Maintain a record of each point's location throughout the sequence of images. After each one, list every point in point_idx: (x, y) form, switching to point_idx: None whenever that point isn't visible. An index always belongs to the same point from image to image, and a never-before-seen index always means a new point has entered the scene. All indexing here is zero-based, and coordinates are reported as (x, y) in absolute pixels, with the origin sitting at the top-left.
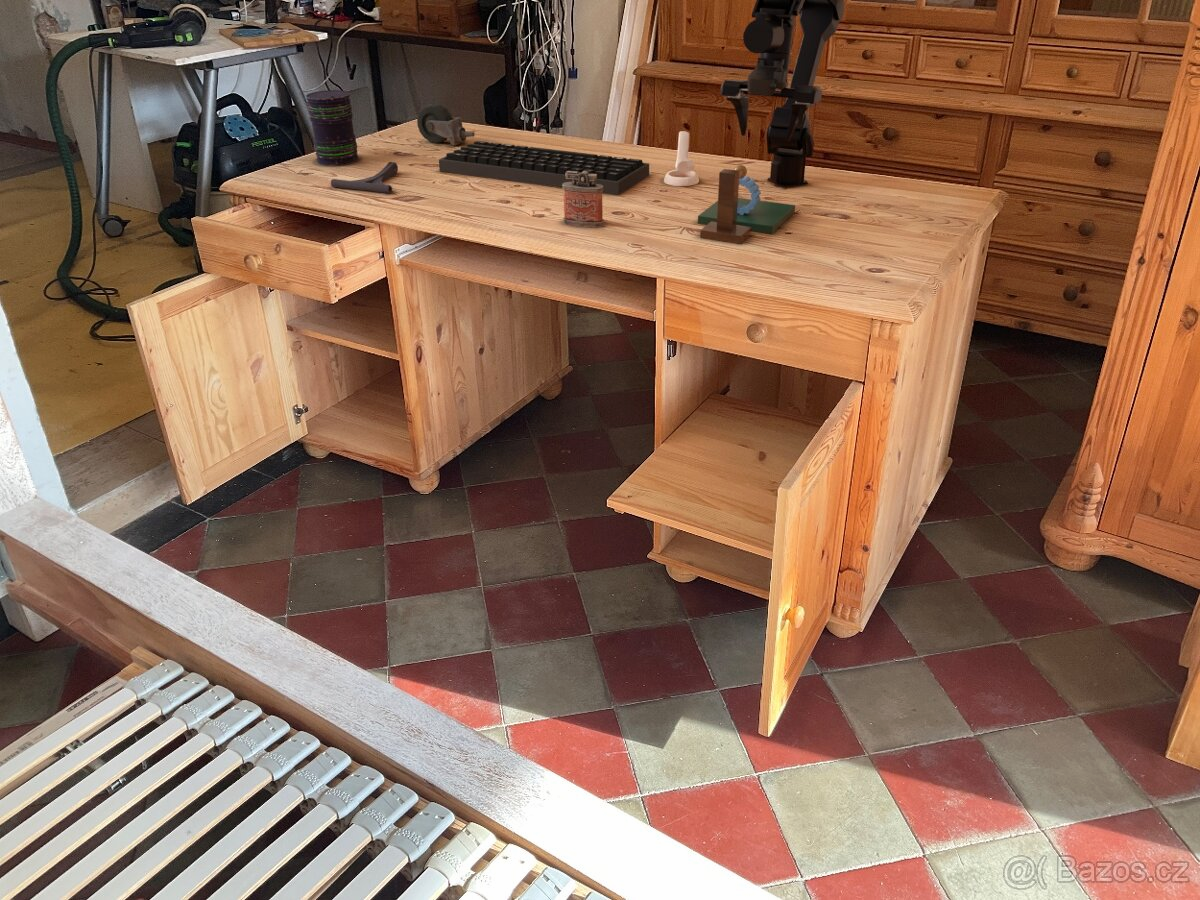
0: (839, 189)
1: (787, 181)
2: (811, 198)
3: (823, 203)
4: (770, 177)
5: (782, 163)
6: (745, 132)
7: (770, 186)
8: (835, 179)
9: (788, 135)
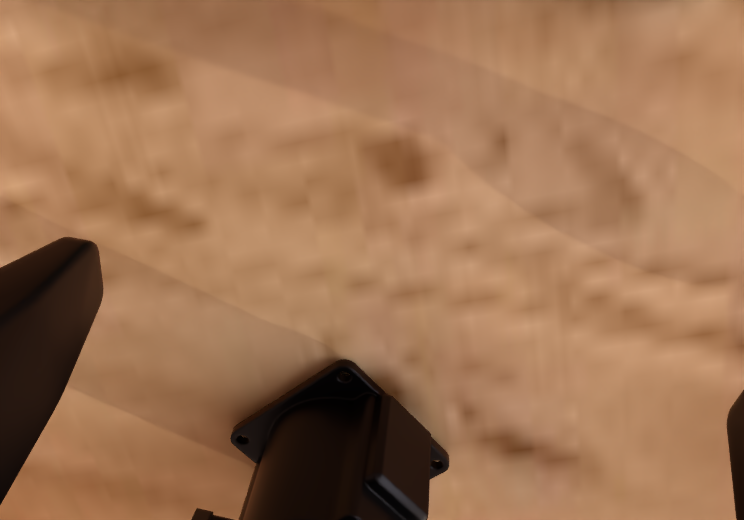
0: None
1: (326, 406)
2: (151, 219)
3: (56, 141)
4: (428, 441)
5: (349, 482)
6: (732, 447)
7: (420, 378)
8: (133, 509)
9: (31, 265)
